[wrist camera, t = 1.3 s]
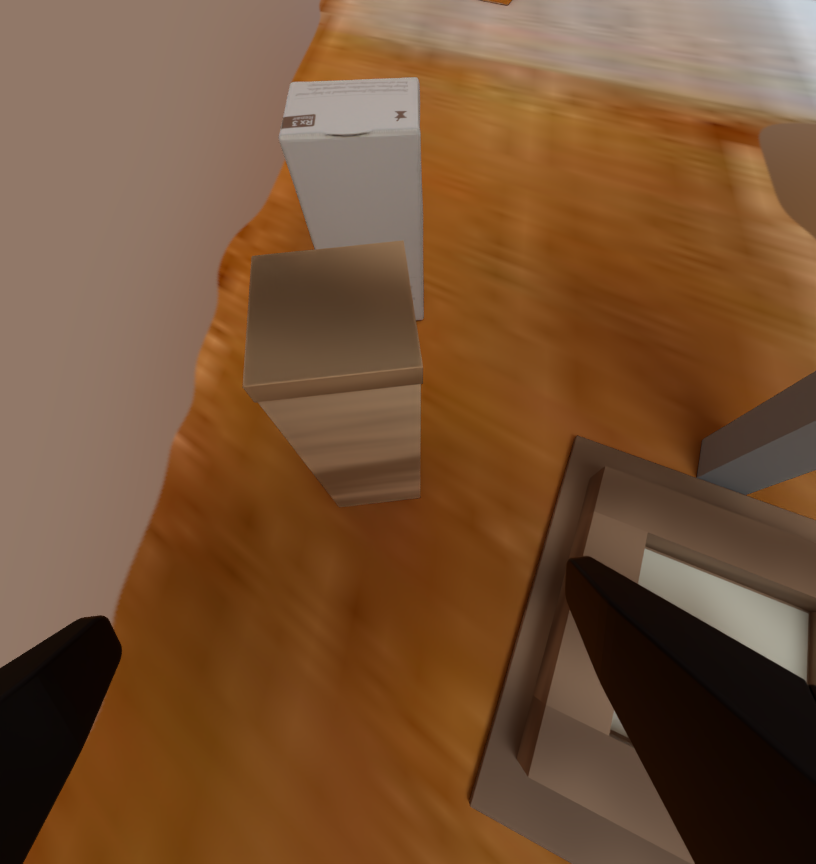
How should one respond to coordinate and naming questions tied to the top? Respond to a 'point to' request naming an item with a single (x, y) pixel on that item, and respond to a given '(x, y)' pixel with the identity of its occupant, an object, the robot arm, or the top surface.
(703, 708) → the robot arm
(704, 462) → the grey l-shaped rod
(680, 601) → the tan flat wooden frame
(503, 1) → the supplement box
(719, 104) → the top surface
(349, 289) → the peg
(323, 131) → the skincare box
